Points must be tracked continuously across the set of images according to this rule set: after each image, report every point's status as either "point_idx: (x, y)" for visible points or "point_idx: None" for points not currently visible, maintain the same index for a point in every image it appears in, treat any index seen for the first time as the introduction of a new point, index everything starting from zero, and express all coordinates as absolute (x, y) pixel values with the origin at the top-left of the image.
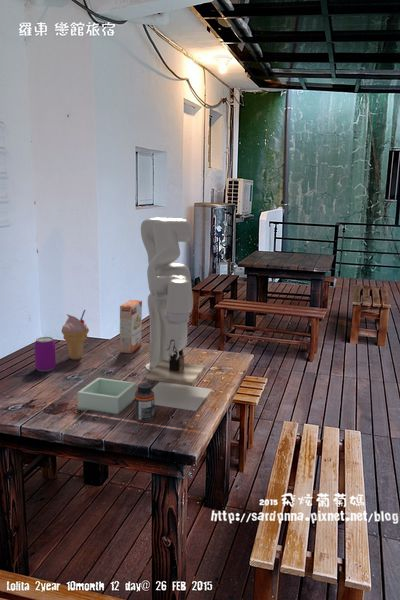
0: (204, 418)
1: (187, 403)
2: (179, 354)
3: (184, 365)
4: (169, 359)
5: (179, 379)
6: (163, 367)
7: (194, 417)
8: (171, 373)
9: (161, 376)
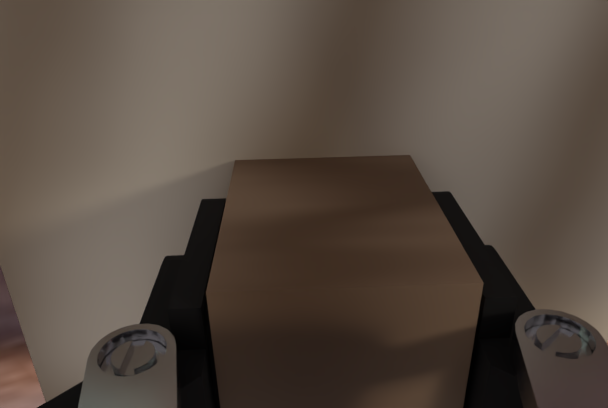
0: (33, 402)
1: None
2: (476, 395)
3: (537, 260)
4: (213, 269)
5: (63, 351)
6: (368, 12)
7: (9, 355)
8: (190, 211)
9: (6, 129)
